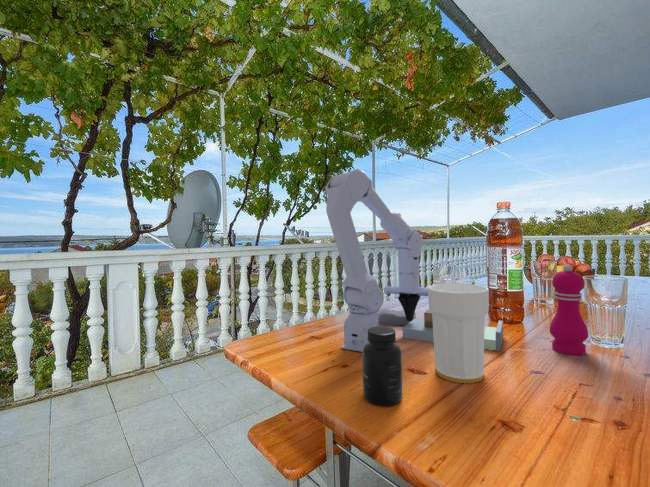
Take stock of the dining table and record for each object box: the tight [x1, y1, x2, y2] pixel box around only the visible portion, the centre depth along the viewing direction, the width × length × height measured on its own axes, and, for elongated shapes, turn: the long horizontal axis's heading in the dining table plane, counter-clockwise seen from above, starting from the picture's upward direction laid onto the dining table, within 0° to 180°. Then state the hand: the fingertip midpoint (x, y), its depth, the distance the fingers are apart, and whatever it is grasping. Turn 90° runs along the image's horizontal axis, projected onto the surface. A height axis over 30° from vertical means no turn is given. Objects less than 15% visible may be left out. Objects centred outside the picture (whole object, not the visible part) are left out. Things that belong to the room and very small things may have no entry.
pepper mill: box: [549, 264, 589, 356], centre depth 75 cm, size 7×7×20 cm
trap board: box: [401, 318, 504, 352], centre depth 87 cm, size 24×11×4 cm, turn 59°
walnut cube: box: [423, 309, 433, 328], centre depth 90 cm, size 4×4×4 cm
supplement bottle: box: [361, 325, 403, 407], centre depth 57 cm, size 7×7×12 cm
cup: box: [427, 282, 490, 384], centre depth 65 cm, size 11×11×17 cm
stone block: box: [378, 308, 417, 326], centre depth 105 cm, size 12×5×10 cm
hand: (409, 320), depth 93 cm, fingers closed
